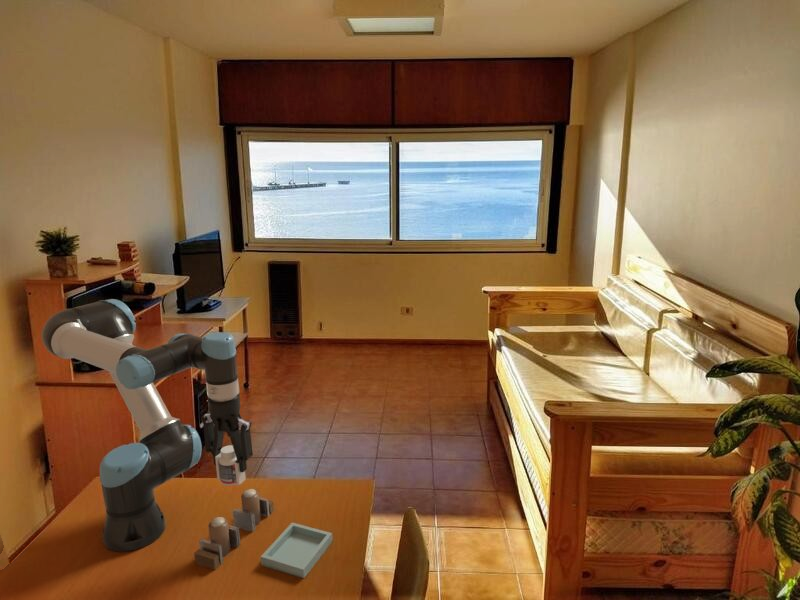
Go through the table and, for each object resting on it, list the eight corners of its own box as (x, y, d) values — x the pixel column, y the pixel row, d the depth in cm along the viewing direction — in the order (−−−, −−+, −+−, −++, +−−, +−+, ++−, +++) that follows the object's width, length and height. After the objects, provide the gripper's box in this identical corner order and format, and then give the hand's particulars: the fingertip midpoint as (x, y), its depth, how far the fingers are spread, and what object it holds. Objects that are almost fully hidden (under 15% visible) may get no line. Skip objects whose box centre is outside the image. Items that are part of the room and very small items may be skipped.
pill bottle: (236, 487, 144) (233, 455, 142) (217, 485, 145) (213, 453, 143) (245, 475, 149) (243, 445, 147) (227, 473, 150) (224, 443, 148)
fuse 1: (207, 554, 144) (204, 524, 142) (219, 543, 148) (216, 513, 146) (222, 559, 142) (219, 528, 140) (234, 547, 147) (231, 517, 144)
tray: (261, 565, 140) (260, 556, 140) (292, 530, 153) (292, 522, 152) (304, 578, 136) (303, 569, 135) (332, 541, 148) (332, 533, 148)
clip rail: (195, 563, 141) (193, 546, 140) (256, 506, 163) (254, 490, 162) (215, 569, 139) (213, 552, 138) (273, 510, 161) (272, 495, 160)
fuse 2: (239, 523, 156) (237, 495, 153) (250, 514, 160) (247, 486, 158) (254, 527, 154) (251, 499, 152) (264, 517, 158) (261, 489, 156)
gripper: (183, 395, 141) (192, 479, 147) (245, 407, 134) (252, 495, 140) (203, 384, 147) (212, 465, 153) (264, 395, 141) (270, 479, 147)
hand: (231, 479), depth 147 cm, fingers closed on pill bottle, 5 cm apart
